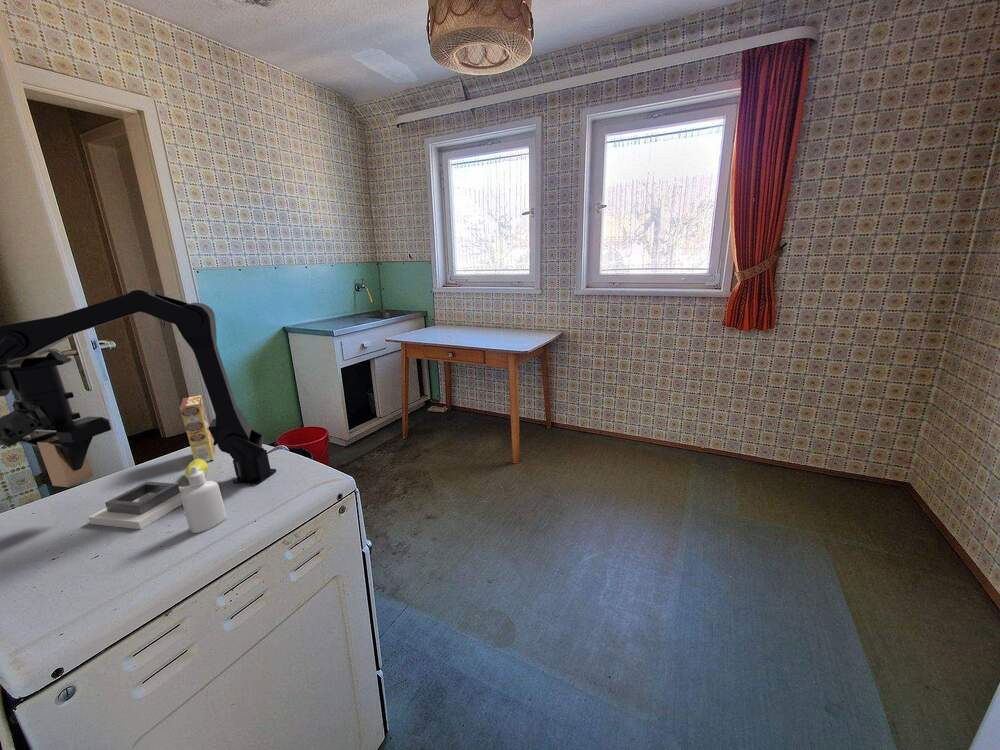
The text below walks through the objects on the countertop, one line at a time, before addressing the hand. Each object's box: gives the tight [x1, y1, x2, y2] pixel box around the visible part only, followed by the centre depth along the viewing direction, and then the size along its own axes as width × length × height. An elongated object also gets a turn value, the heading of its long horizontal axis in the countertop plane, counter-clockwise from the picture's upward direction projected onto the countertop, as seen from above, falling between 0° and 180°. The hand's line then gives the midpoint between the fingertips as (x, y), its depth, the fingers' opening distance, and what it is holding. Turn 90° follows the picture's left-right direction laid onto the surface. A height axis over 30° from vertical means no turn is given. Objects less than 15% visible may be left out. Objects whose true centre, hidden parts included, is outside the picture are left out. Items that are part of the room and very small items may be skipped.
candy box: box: [179, 395, 216, 462], centre depth 103 cm, size 9×4×15 cm, turn 33°
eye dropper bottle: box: [181, 466, 227, 534], centre depth 75 cm, size 4×6×12 cm
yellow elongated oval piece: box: [184, 459, 209, 480], centre depth 95 cm, size 4×8×4 cm, turn 22°
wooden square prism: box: [37, 435, 94, 488], centre depth 78 cm, size 4×4×9 cm
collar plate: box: [88, 481, 190, 530], centre depth 82 cm, size 12×12×4 cm
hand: (69, 469), depth 78 cm, fingers closed on wooden square prism, 4 cm apart
